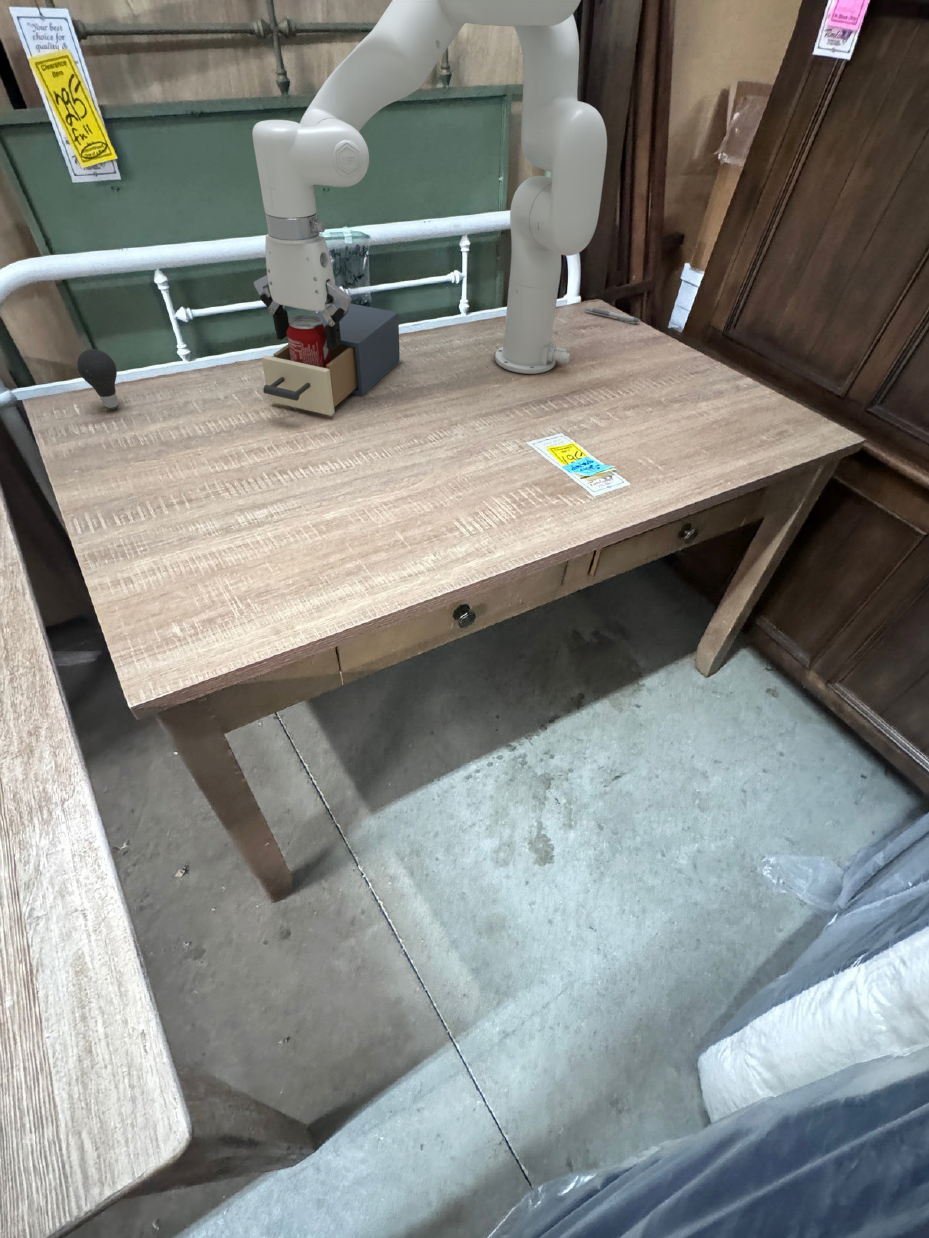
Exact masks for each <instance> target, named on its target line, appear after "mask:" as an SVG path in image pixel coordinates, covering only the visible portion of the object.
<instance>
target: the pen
mask: <svg viewBox="0 0 929 1238" xmlns="http://www.w3.org/2000/svg"><path fill="white" fill-rule="evenodd" d="M584 309H585V310H586V311H588V312H590V313H594V314H598V315H601V316H607V317H611V318H616V319H617V320H618V321H620V322H623V323H627V324H631V325H632V324H635V325H636V324H637V323H640V322H641V319H639V318H638V317H635V316H631V315H627V314H626V315H625V314H621V313H617V312H613V311H609V310H604V309H600V308H597V307H590V306H589V307H585V308H584Z"/></svg>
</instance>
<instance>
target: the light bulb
mask: <svg viewBox="0 0 929 1238" xmlns="http://www.w3.org/2000/svg"><path fill="white" fill-rule="evenodd" d="M76 365H77V366H76V367H77V370H78V373H79V375H80V376H81V377H82V380H84V381H85V382H86V383H87V384H89V386H91V387H92V389H94V391H95V393H96V394H97V395H98V396H99V398H100V400H101V403H102V405H103V406H104V407H105V408H107V409H110V410H115V409H117V407H118V405H119V403H120V402H119V398H118V396H117V393H116V392H117V390H116V380H117V376H118V371H117V370H118V369H117V365H116V363H115V360H113V358H112V357H111V356H110V355H109V354H108V353H106V352H104V351H102V350H100V349H96V348H90V349H85V350H84V351H82V352H81V353H80V355H79V356H78V358H77V362H76Z"/></svg>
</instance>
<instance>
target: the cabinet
mask: <svg viewBox="0 0 929 1238" xmlns="http://www.w3.org/2000/svg"><path fill="white" fill-rule="evenodd" d="M334 306H335V307H336V308H337V310H338V308H339V301H338V300H337V301H336V303H334ZM327 310H328V309H327ZM330 314H331V313H330ZM313 315H315V316H318V317H320V318H321V319H322V324H323V325H324V327H325V326H326V325H327V324H328V323H327V322H326V320H325V319H324V318H323V316H322V315H321V313H320V312H315V313H314V314H313ZM399 321H400V320H399V312H398V311H393V310H387V309H382V308H376V307H371V306H366V305H361V304H355V303H352V302H351V303H350V306H349V309H348V312H347V314H346V315H345V316H344V317H343V318H342V320H341V321H339V325H340V335H341V342H340V344H341V345H346V346H351V347H355V354H356V366H357V378H358V387H357V388H356V389H355V390H353V391H352V392H351V393H350V394H352V395H357V396H361V397H363V396H364V395H365V394H367V393H368V392H369V391H370V390H371V389H372V388H373V387H374V386H375V385H377V384H378V382H380V381H381V380H382V379H383V378H384V377H385V376H386V375H387V374H389V373H390V372H391V371H392V370H393V369H394V368H395V367H396V366H397V365H398V364H399V363H400V362H401V354H400V353H401V352H400V350H401V349H400V324H399V323H400V322H399Z"/></svg>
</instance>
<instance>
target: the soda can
mask: <svg viewBox="0 0 929 1238" xmlns="http://www.w3.org/2000/svg"><path fill="white" fill-rule="evenodd" d="M288 320H289V327H288V329H287V332H286V333H287V336H286V339H287V345H288V346H289V352H290V358H291V361H294V362H299V363H304V364H308V365H313V366H317V367H322V368H326V365H327V364H328V363H330V362H331V359H330V350H329V349H328V348H327V340H326V331H325V327H324V325H323V324H322V319H321V318H320V317H318V316H315V315H314V314H298V315H294V316H292V317H291V318H288Z"/></svg>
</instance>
